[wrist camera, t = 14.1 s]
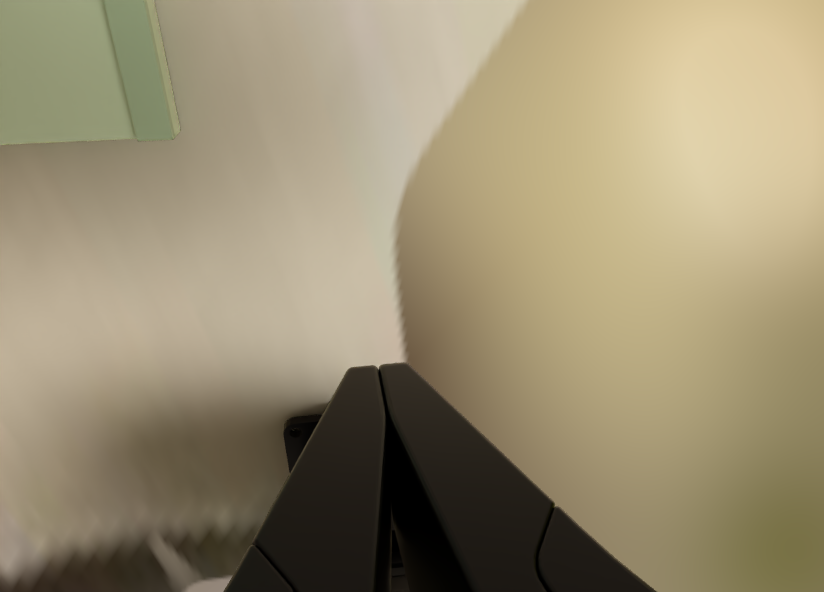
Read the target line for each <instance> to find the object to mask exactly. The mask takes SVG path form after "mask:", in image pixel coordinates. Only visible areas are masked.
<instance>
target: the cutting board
mask: <svg viewBox="0 0 824 592" xmlns="http://www.w3.org/2000/svg"><path fill="white" fill-rule="evenodd" d="M180 131H181V130H180V125H179V120H178V115H177V110H176V105H175V100H174V96H173V91H172V86H171V81H170V76H169V71H168V66H167V61H166V56H165V51H164V47H163V42H162V37H161V32H160V27H159V22H158V17H157V12H156V7H155V2H154V0H0V145H11V144H33V143H55V142H78V141H100V140H122V139H137V140H138V141H154V140H173V139H174V138H175V137H176V136H177V135H178V133H179V132H180Z"/></svg>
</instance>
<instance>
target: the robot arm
mask: <svg viewBox="0 0 824 592" xmlns="http://www.w3.org/2000/svg"><path fill="white" fill-rule="evenodd" d="M294 428H299V429H300V430H299V431H293V430H292V429H294ZM284 440H285V446H286V453H287V459H288V465H289V472H290V474H289V476H288V478H287V480H286V482H285V483H284V485H283V487H282V489H281V491H280V493H279V494H278V496H277V498H276V500H275V502H274V503H273V505H272V507H271V509H270V511H269V512H268V514H267V516H266V518H265V520H264V521H263V523H262V525H261V527H260V529H259V530H258V532H257V534H256V536H255V538H254V539H253V545H251V546H250V547H249V548H248V550H247V551H246V553H245V555H244V557H243V559H242V560H241V562H240V564H239V566H238V568H237V570H236V571H235V573H234V575H233V577H232V578H231V580H230V582H229V583H228V585H227V587H226V588H225V590H224V592H656V591H655V590H654V589H653V588H652V587H650V586H649V585H648V584H647V583H645V582H644V581H643V580H642V579H640V578H639V577H638V576H637V575H636V574H634V573H633V572H632V571H631V570H629V569H628V568H627V567H626V566H624V565H623V564H622V563H621V562H620V561H618V560H617V559H616V558H615V557H614V556H612V555H611V554H610V553H609V552H608V551H607V550H606V549H605V548H603V547H602V546H601V545H600V544H599V543H598V542H597V541H596V540H595V539H594V538H592V537H591V536H590V535H589V534H588V533H587V532H586V531H585V530H583V529H582V528H581V527H580V526H579V525H578V524H577V523H576V522H575V521H574V520H573V519H572V518H571V517H570V516H569V515H567V514H566V513H565V512H564V511H563V510H562V509H561V508H560V507H558V506H556V507H555V503H554V502H553V501H552V500H551V499H550V498H549V497H548V496H547V495H546V494H545V493H544V492H543V491H542V490H541V489H540V488H539V487H538V486H537V485H536V484H534V483H533V482H532V481H531V480H530V479H529V478H528V477H527V476H526V475H525V474H524V473H523V472H522V471H521V470H520V469H519V468H518V467H517V466H516V465H514V464H513V463H512V462H511V461H510V460H509V459H508V458H507V457H506V456H505V455H504V454H503V453H502V452H501V451H499V449H497V447H496V446H494V445H493V444H492V443H491V442H490V441H489V440H488V439H487V438H486V437H485V436H484V435H483V434H482V433H481V432H480V431H479V430H477V429H476V428H475V427H474V426H473V425H472V424H471V423H470V422H469V421H468V420H467V419H466V418H465V417H464V416H463V415H462V414H461V413H459V411H457V409H455V408H454V407H453V406H452V405H451V404H450V403H449V402H448V401H447V400H446V399H445V398H444V397H443V396H442V395H441V394H440V393H439V392H438V391H436V390H435V389H434V388H433V387H432V386H431V385H430V384H429V383H428V382H427V381H426V380H425V379H424V378H423V377H422V376H421V375H420V374H418V372H416V371H415V370H414V369H413V368H412V367H411V366H410V365H409V364H407V363H404V362H403V363H393V364H383V365H381V366H380V367H379V369H378V368H377V367H376V366H373V365H371V366H360V367H352V368H349V369H348V370H347V372H346V373H345V375H344V377H343V379H342V381H341V383H340V384H339V386H338V388H337V390H336V392H335V393H334V395H333V397H332V399H331V401H330V402H329V404H328V406H327V408H326V410H325V411H324V413H323V414H321V415H311V416H301V417H294V418H290V419H289V420H287V421H286V422H285V424H284Z"/></svg>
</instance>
